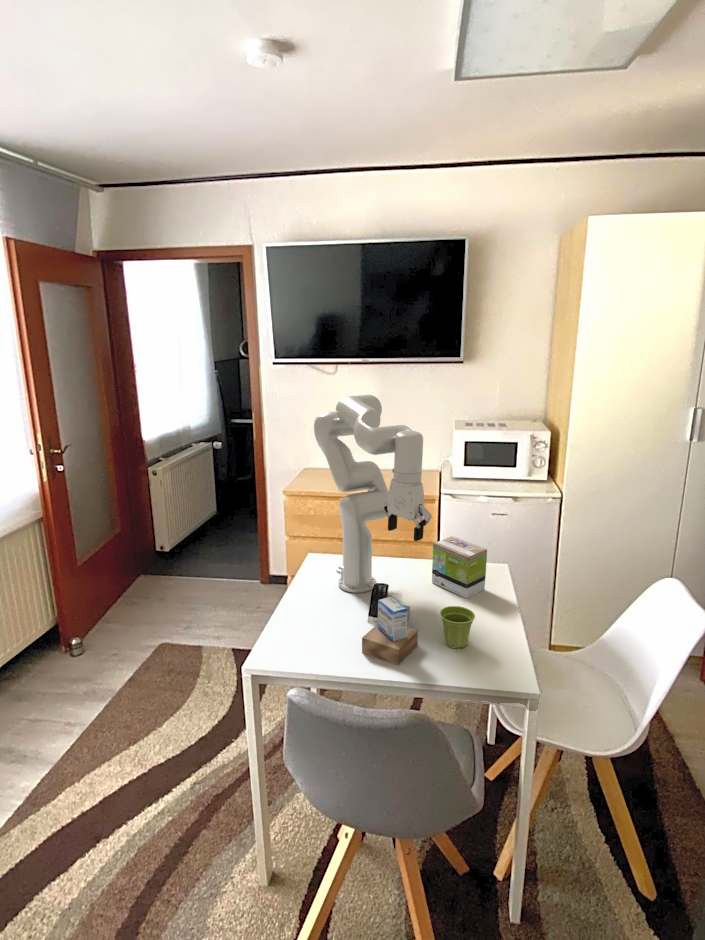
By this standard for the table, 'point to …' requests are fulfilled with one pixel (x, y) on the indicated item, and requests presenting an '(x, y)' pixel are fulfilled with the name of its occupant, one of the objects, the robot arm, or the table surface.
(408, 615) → the grey cube
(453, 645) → the plant pot
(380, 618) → the medicine box
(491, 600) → the table surface
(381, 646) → the walnut block
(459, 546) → the tea box
